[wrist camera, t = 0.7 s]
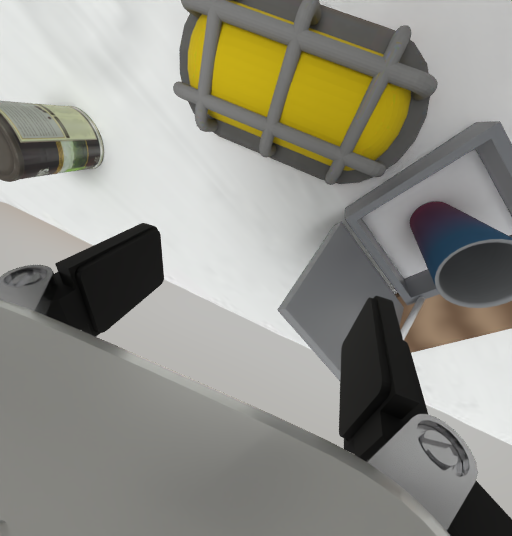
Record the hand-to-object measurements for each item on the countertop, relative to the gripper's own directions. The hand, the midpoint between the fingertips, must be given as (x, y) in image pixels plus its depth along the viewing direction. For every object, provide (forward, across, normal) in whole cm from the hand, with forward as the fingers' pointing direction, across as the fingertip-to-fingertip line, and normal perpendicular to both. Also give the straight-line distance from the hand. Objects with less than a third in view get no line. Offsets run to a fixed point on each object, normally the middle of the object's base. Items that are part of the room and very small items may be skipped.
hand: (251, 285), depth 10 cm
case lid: (+16, -10, +11) cm, 22 cm away
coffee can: (+29, +44, +3) cm, 53 cm away
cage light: (+29, +6, -9) cm, 31 cm away
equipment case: (+29, -16, +3) cm, 33 cm away
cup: (+29, -16, +2) cm, 33 cm away
